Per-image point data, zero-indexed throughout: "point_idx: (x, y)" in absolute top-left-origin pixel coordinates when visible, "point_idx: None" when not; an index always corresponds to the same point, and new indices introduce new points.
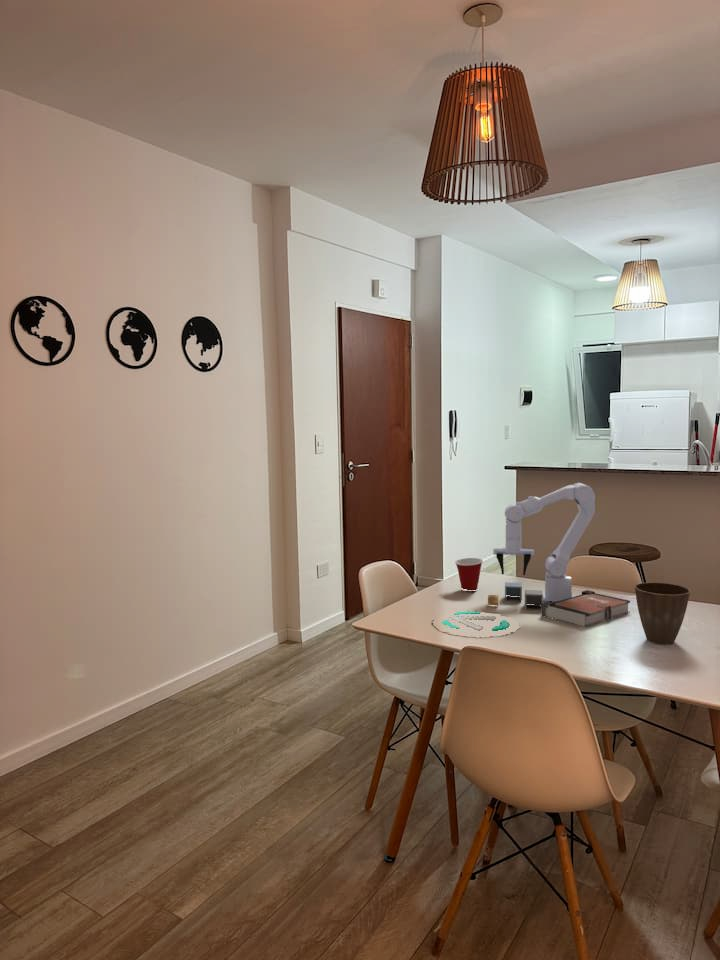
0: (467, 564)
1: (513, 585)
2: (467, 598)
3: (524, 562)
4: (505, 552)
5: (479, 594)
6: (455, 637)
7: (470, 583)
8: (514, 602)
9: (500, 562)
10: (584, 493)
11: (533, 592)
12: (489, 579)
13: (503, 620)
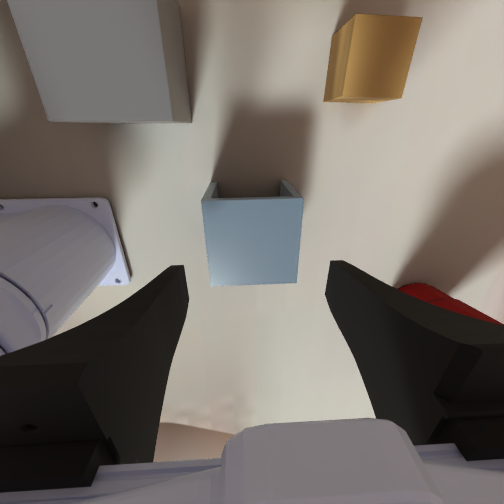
0: None
1: (252, 225)
2: (448, 192)
3: (126, 323)
4: (491, 470)
5: (381, 261)
6: None
7: (438, 300)
8: (243, 161)
9: (425, 308)
10: None
11: (91, 32)
12: (320, 414)
13: None
